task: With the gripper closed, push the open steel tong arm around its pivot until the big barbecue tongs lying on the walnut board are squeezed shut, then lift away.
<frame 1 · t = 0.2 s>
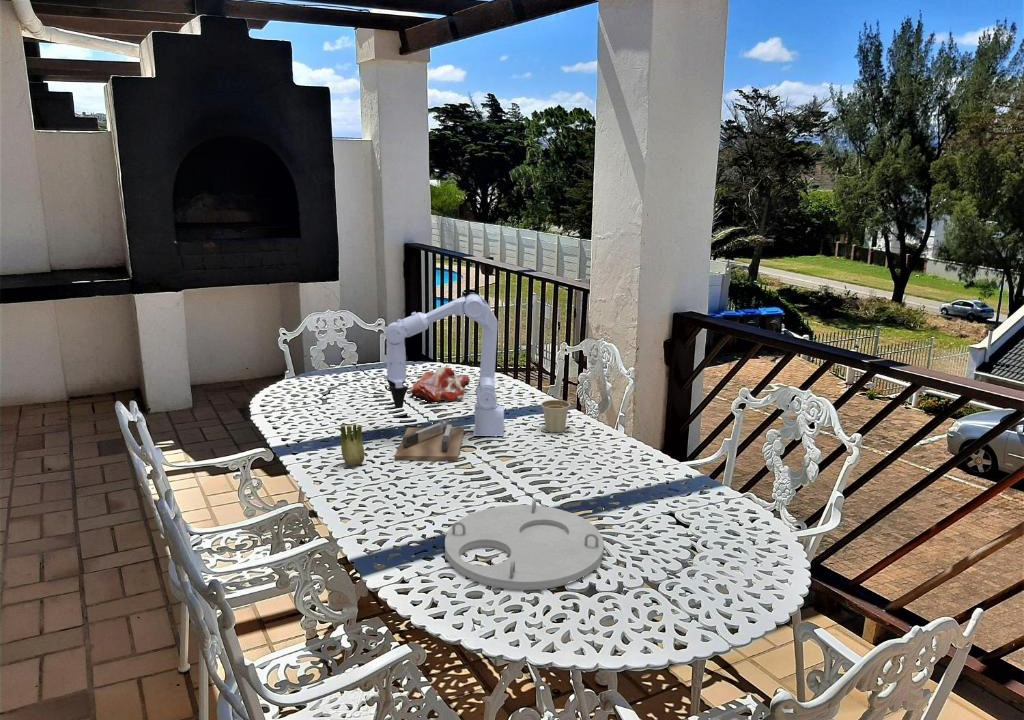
hand: (397, 404, 227), 10 cm above the table, tool pointing down, fingers open, 7 cm apart
flower pot: (555, 430, 235), on the table
walnut board: (431, 445, 220), on the table
tong arm: (426, 433, 221), point 3 cm above the table, hinge at -35.0°
fixed tong arm: (444, 431, 228), resting on walnut board
meat: (440, 397, 271), on the table
fennel bulb: (354, 465, 206), on the table
slab: (524, 549, 161), on the table
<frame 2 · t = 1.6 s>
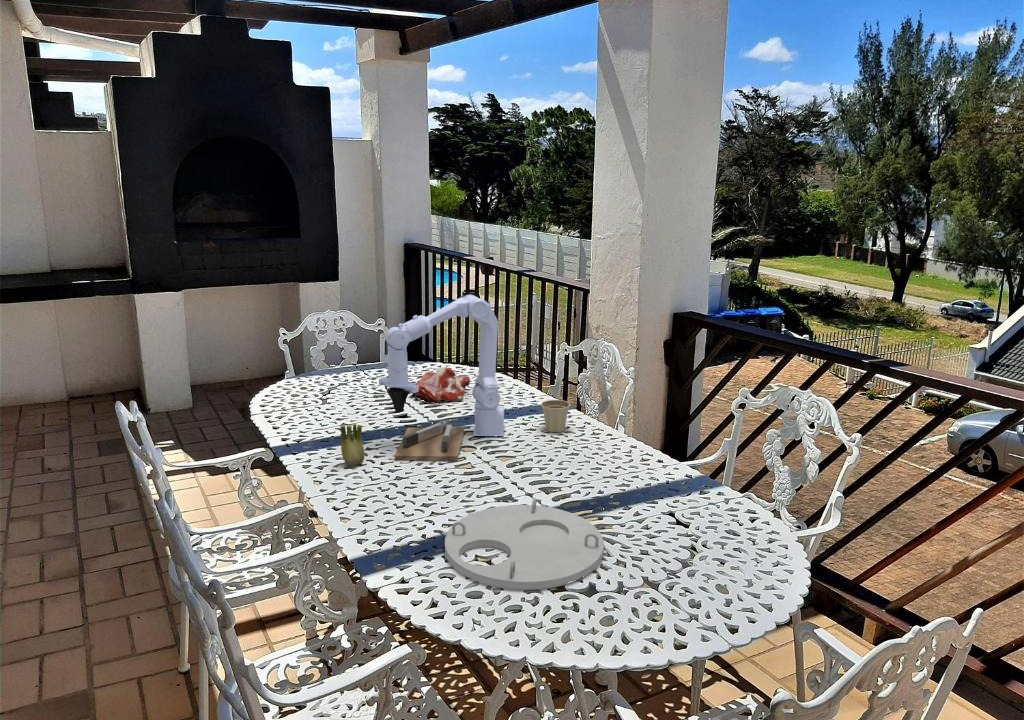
hand: (399, 411, 219), 10 cm above the table, tool pointing down, fingers closed
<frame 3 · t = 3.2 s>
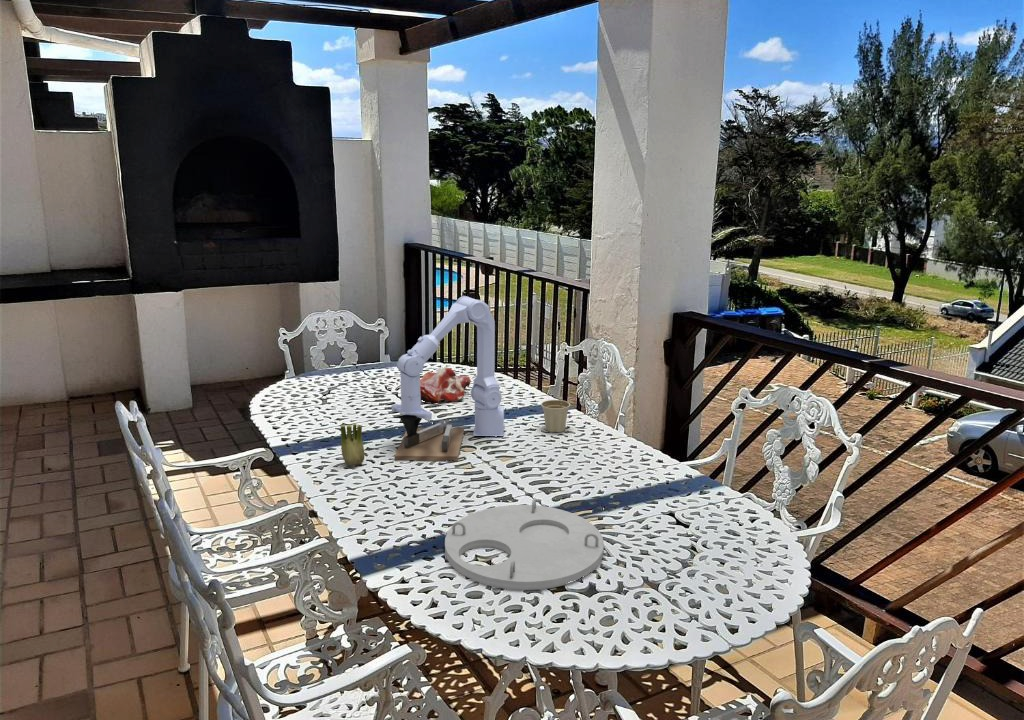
hand: (412, 438, 218), 3 cm above the table, tool pointing down, fingers closed
tong arm: (427, 433, 221), point 3 cm above the table, hinge at -33.3°, touching gripper
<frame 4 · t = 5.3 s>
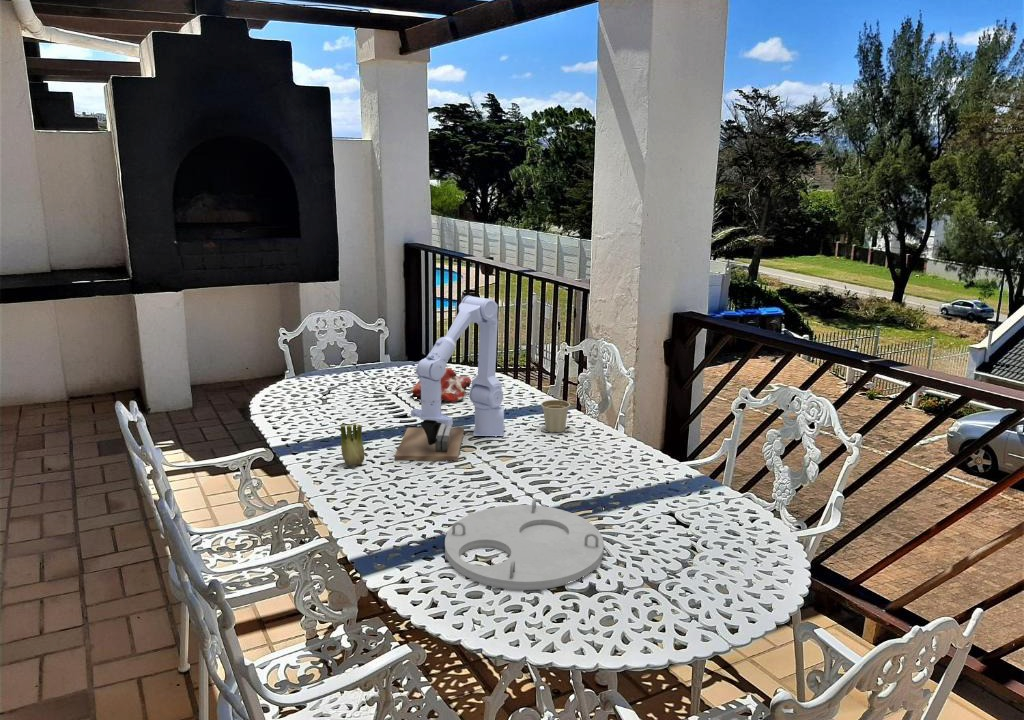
hand: (432, 443, 214), 3 cm above the table, tool pointing down, fingers closed
tong arm: (441, 435, 220), point 3 cm above the table, hinge at 0.4°, touching gripper
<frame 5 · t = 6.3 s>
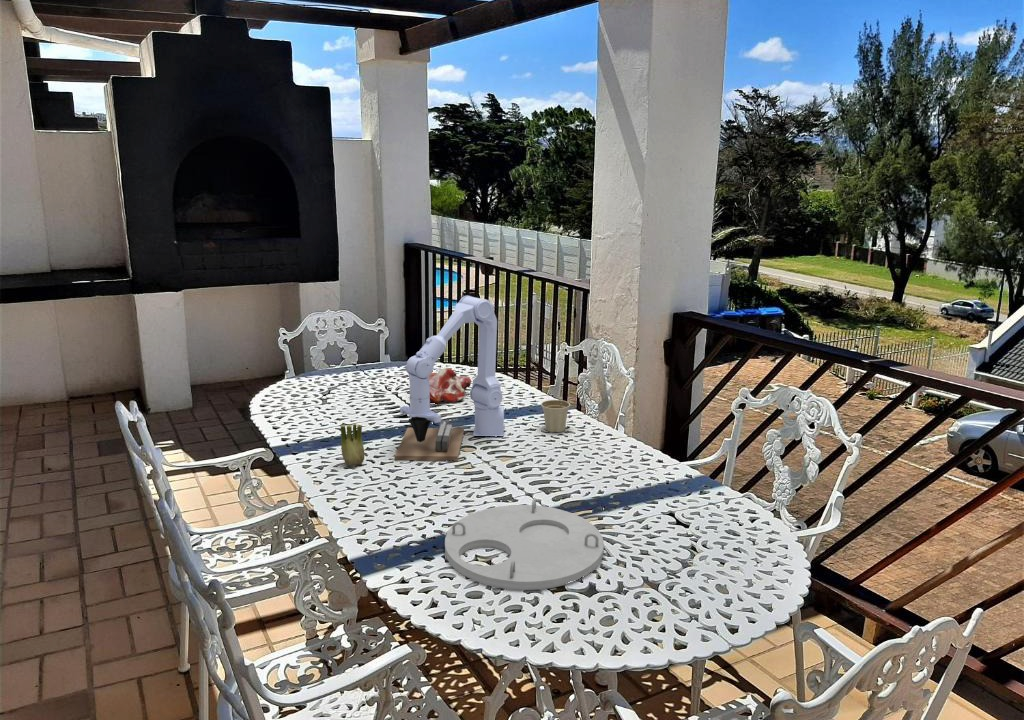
hand: (421, 440, 216), 3 cm above the table, tool pointing down, fingers closed
tong arm: (441, 435, 220), point 3 cm above the table, hinge at 0.6°
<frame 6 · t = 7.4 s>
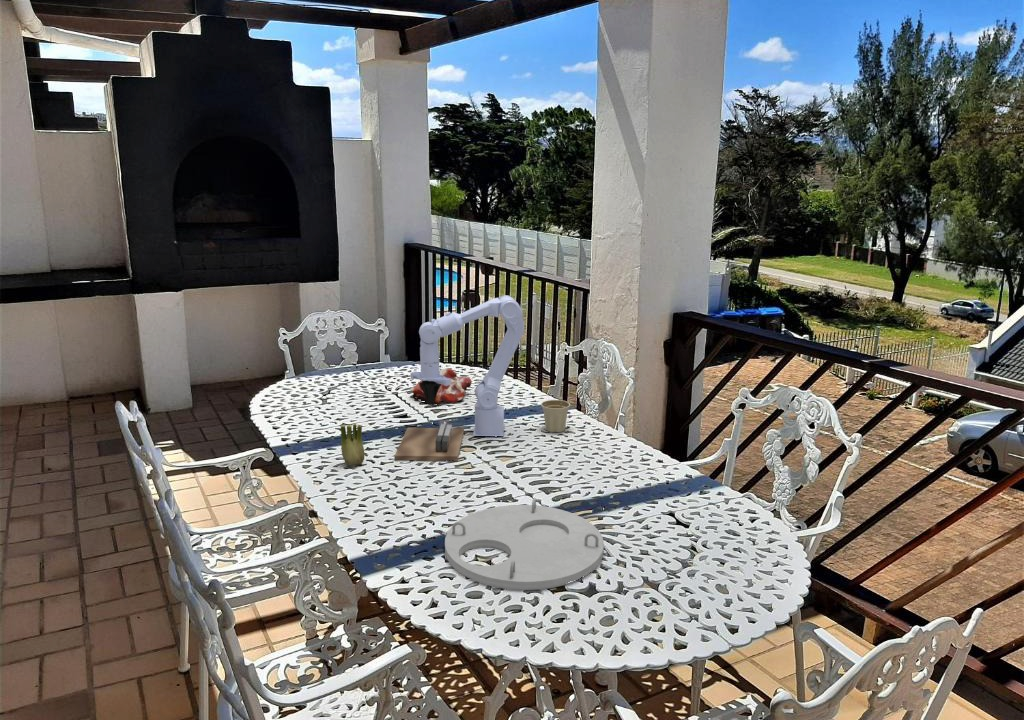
hand: (430, 404, 226), 10 cm above the table, tool pointing down, fingers closed
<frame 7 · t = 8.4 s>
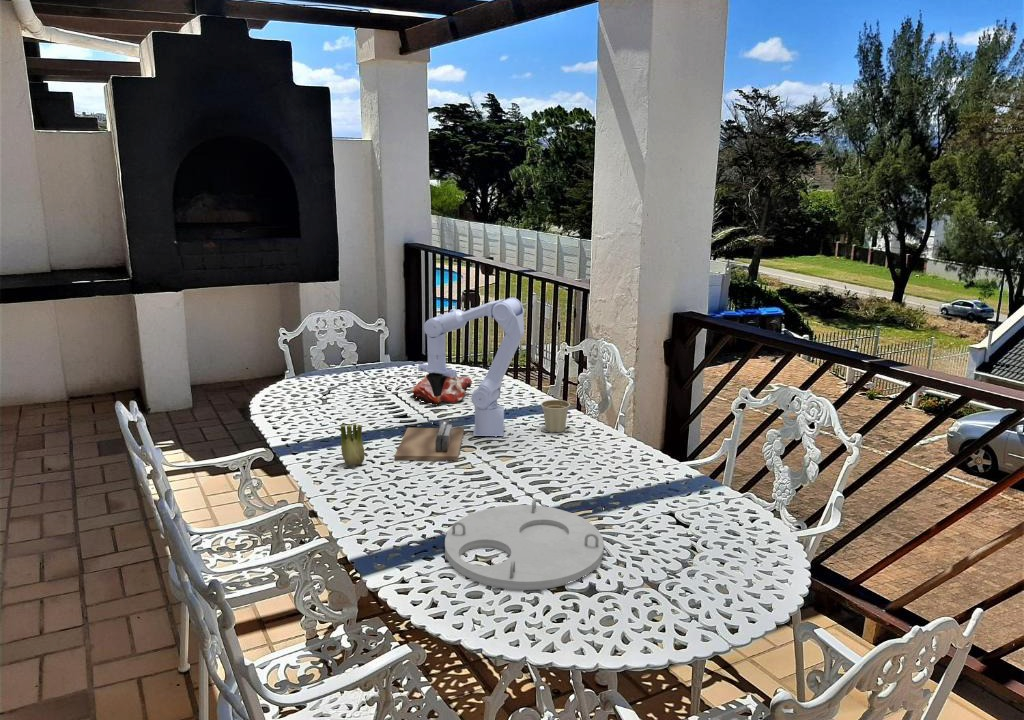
hand: (437, 395, 235), 10 cm above the table, tool pointing down, fingers closed
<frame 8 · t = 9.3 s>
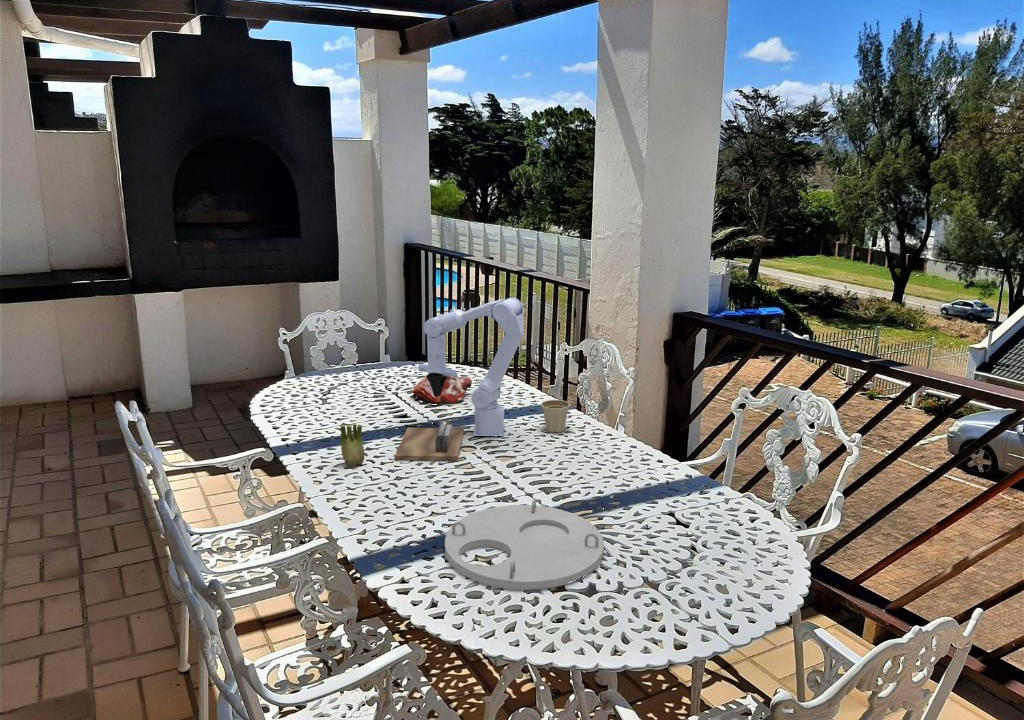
hand: (437, 395, 235), 10 cm above the table, tool pointing down, fingers closed
at the end: tong arm at +1° (first picture: -35°); fennel bulb moved 0.3 cm from its start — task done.
